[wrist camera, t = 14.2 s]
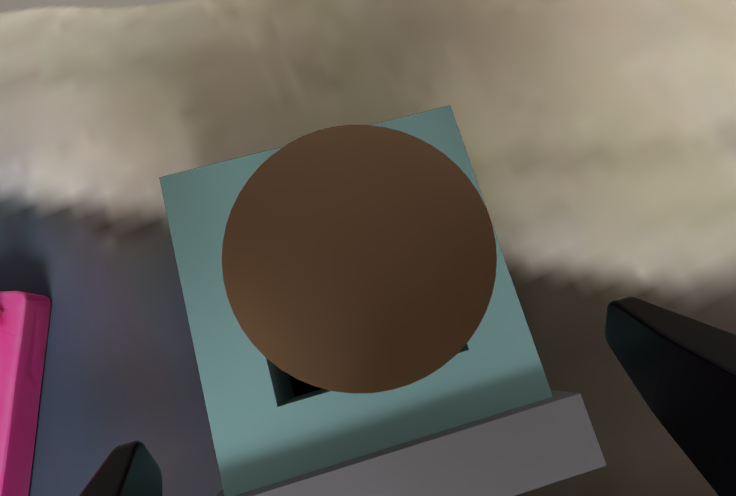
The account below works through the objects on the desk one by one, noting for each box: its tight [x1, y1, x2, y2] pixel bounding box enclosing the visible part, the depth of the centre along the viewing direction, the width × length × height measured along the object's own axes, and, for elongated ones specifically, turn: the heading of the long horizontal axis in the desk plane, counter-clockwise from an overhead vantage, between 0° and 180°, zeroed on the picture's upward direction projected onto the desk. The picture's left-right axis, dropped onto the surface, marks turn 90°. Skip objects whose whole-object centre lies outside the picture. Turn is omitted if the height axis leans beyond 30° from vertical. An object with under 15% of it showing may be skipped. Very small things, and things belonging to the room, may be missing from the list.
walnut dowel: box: [222, 125, 497, 394], centre depth 13 cm, size 4×4×13 cm
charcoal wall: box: [217, 389, 606, 496], centre depth 16 cm, size 2×11×6 cm, turn 106°
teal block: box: [159, 105, 553, 496], centre depth 18 cm, size 10×10×4 cm
